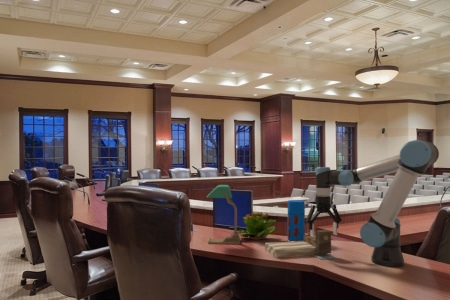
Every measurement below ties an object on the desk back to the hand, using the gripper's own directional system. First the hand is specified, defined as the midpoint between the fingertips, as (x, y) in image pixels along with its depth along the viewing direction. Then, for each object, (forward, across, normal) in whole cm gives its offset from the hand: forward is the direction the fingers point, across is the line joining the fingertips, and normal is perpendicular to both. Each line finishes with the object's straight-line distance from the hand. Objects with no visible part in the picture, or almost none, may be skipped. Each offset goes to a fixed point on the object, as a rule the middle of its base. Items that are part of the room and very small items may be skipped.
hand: (323, 235), depth 189 cm
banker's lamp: (+10, +45, -42) cm, 63 cm away
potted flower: (+10, +20, -49) cm, 54 cm away
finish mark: (+11, 0, +1) cm, 11 cm away
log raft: (+11, +11, -11) cm, 19 cm away
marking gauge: (+9, 0, -8) cm, 12 cm away
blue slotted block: (+11, -2, -38) cm, 39 cm away
